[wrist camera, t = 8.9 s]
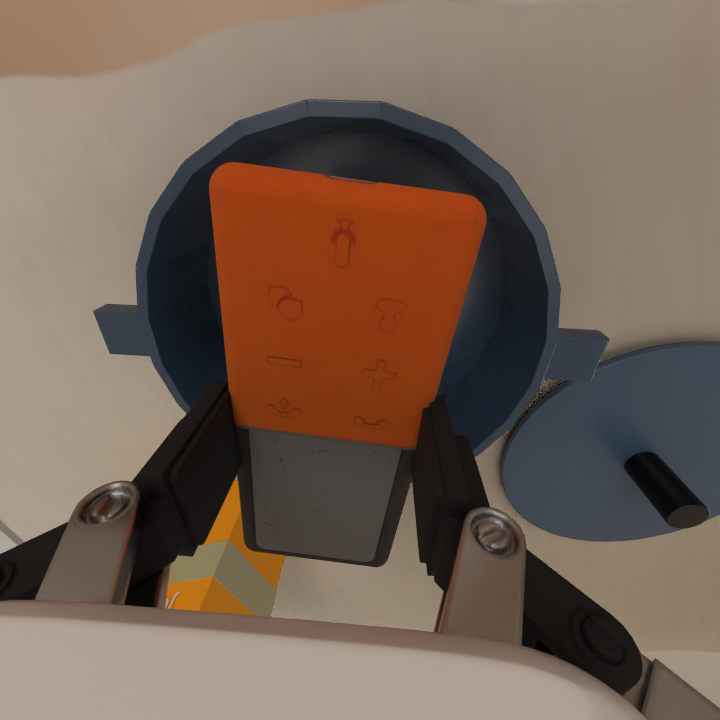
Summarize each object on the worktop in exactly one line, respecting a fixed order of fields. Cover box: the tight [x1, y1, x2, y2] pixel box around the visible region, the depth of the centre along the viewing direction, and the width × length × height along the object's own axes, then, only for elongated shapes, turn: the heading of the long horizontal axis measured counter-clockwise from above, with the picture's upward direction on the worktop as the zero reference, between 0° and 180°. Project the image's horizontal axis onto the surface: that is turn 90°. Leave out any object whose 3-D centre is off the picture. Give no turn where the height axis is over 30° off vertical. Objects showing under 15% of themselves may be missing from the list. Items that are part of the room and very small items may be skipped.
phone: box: [209, 162, 486, 567], centre depth 11 cm, size 6×1×15 cm
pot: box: [93, 99, 609, 484], centre depth 19 cm, size 19×24×6 cm
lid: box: [501, 342, 720, 542], centre depth 24 cm, size 20×20×6 cm
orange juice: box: [165, 480, 285, 617], centre depth 24 cm, size 8×9×20 cm
